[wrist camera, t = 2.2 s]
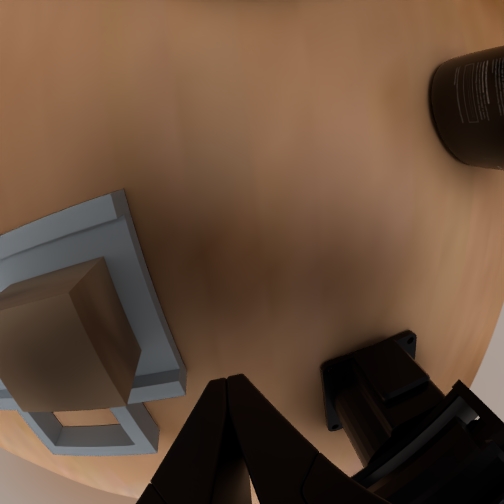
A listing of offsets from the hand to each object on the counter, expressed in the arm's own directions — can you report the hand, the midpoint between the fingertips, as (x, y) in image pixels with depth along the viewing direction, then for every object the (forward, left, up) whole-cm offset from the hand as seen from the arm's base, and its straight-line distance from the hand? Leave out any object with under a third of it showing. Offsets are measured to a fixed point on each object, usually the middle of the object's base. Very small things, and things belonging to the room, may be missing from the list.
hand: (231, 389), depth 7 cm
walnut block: (0, +8, -7) cm, 10 cm away
